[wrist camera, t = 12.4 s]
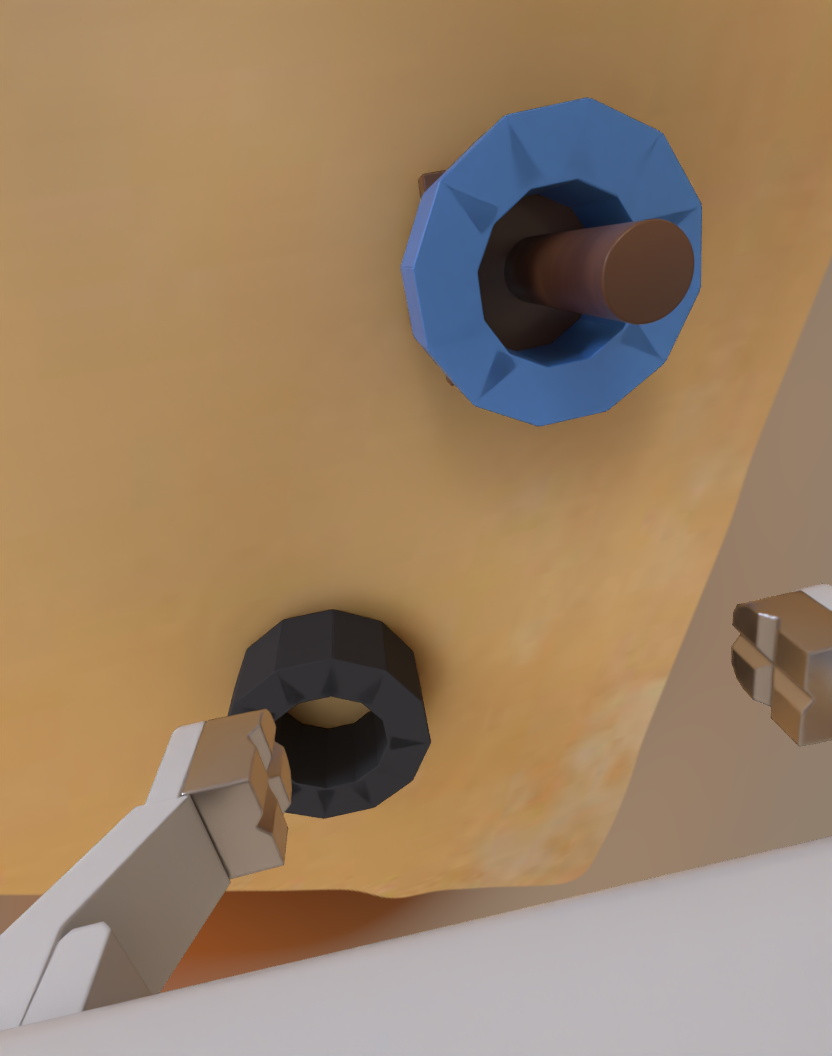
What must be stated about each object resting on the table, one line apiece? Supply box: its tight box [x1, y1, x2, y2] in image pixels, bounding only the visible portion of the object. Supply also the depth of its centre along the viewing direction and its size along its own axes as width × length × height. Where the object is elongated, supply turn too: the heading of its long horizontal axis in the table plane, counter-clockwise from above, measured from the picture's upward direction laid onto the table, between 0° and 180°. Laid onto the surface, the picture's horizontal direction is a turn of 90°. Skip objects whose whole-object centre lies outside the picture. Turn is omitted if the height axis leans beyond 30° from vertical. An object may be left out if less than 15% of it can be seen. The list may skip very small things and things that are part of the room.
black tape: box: [228, 610, 431, 819], centre depth 35 cm, size 11×11×5 cm
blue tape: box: [401, 97, 702, 426], centre depth 25 cm, size 11×11×5 cm
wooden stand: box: [418, 170, 694, 385], centre depth 22 cm, size 9×9×12 cm
